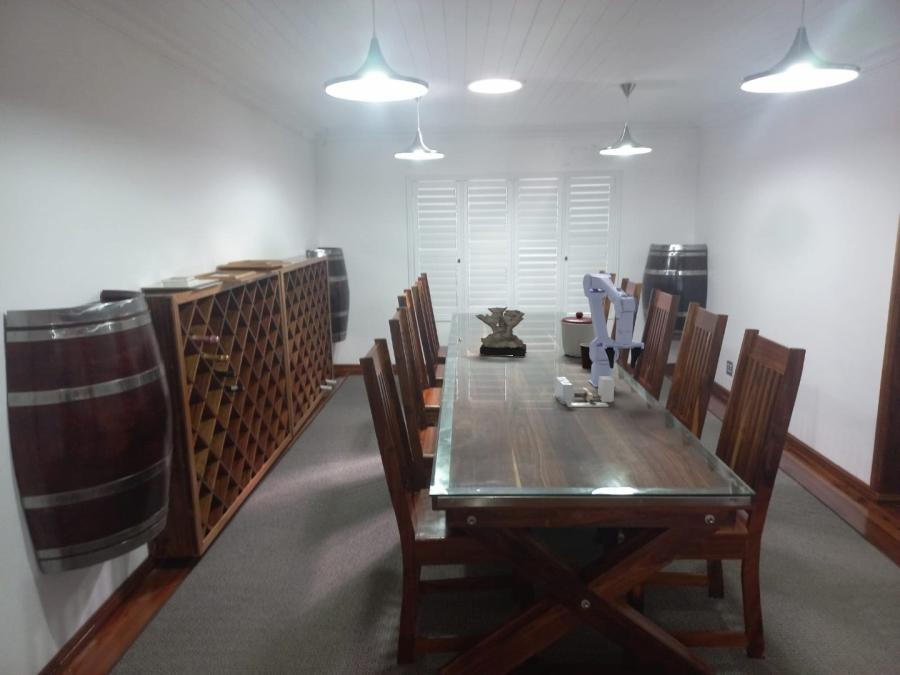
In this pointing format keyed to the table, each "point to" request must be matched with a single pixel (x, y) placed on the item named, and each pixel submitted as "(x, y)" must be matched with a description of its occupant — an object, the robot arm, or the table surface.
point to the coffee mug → (585, 356)
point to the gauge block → (605, 389)
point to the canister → (576, 333)
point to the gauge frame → (565, 394)
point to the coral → (502, 333)
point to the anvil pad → (585, 395)
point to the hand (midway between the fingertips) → (621, 367)
